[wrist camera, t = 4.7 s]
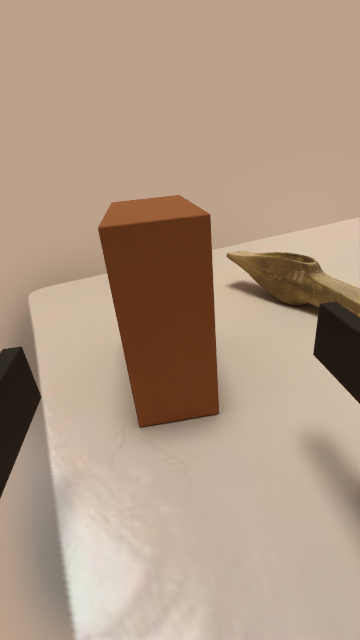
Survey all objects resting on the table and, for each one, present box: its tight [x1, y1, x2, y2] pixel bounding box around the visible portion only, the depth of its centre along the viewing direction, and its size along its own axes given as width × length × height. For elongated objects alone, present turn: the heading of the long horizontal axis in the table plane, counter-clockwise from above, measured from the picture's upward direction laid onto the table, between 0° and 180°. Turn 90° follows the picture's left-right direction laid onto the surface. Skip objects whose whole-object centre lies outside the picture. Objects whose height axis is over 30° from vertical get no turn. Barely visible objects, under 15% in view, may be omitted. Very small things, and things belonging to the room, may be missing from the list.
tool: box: [227, 251, 360, 317], centre depth 30 cm, size 22×6×5 cm, turn 34°
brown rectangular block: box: [98, 195, 219, 427], centre depth 21 cm, size 5×10×12 cm, turn 8°
